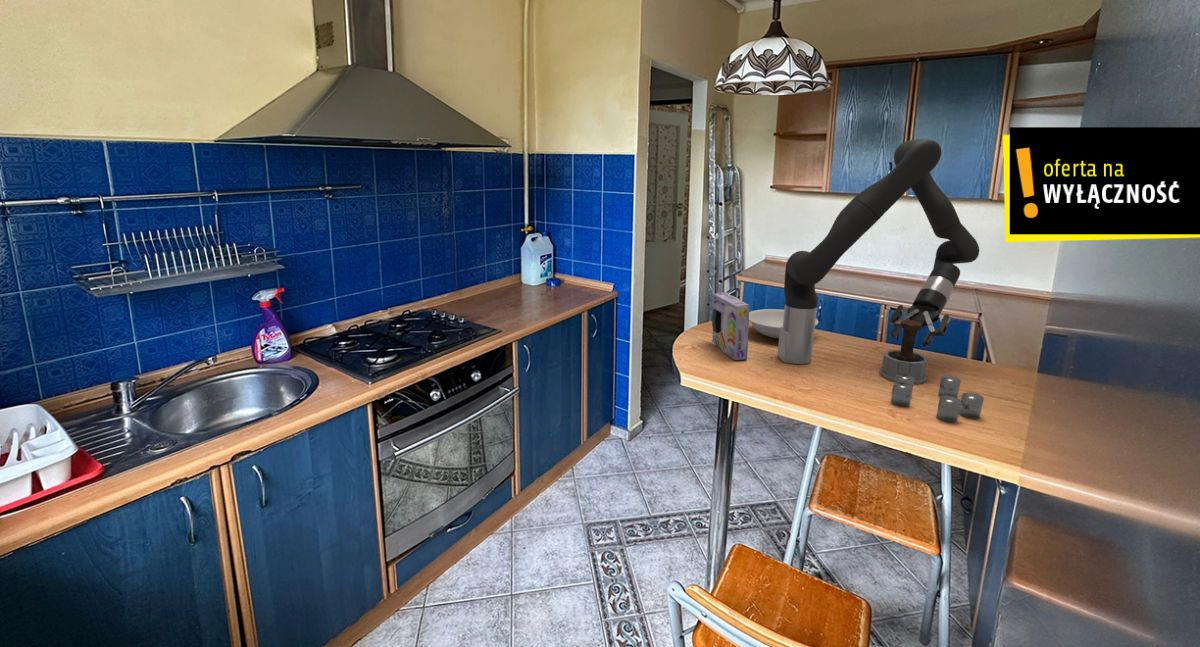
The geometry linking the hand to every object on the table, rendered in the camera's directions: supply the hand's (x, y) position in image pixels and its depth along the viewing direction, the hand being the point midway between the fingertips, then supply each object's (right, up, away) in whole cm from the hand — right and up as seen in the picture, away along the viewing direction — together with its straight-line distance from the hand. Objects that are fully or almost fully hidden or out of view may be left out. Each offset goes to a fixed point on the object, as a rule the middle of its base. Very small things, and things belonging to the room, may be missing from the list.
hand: (908, 341), depth 160 cm
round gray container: (0, -10, +3) cm, 11 cm away
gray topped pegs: (-3, -16, -16) cm, 23 cm away
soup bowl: (-24, 0, +39) cm, 46 cm away
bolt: (0, -9, +3) cm, 10 cm away
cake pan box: (-46, -4, +23) cm, 51 cm away
